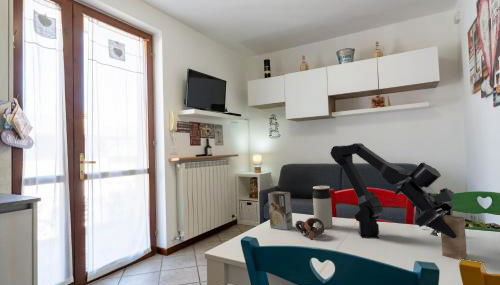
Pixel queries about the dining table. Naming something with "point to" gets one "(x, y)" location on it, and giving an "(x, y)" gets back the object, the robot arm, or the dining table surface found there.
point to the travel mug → (322, 206)
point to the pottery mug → (310, 227)
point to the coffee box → (280, 210)
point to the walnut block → (454, 245)
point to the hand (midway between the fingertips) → (458, 235)
